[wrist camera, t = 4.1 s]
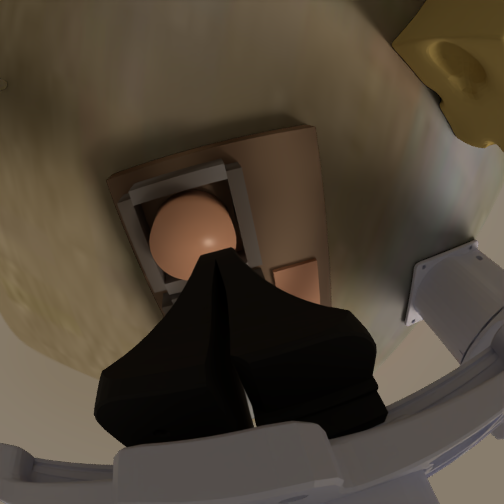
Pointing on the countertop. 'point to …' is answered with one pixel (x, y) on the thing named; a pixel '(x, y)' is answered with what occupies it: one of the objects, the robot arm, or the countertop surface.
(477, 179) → the countertop surface
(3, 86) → the ice cream cone
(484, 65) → the cheese
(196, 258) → the terracotta button
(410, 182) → the countertop surface
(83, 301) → the countertop surface
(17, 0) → the countertop surface
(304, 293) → the button panel
